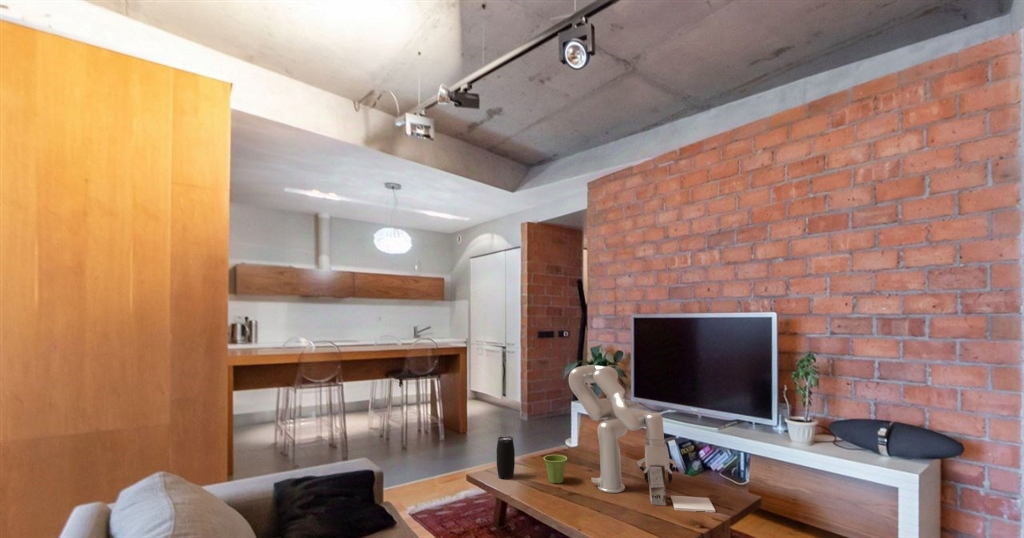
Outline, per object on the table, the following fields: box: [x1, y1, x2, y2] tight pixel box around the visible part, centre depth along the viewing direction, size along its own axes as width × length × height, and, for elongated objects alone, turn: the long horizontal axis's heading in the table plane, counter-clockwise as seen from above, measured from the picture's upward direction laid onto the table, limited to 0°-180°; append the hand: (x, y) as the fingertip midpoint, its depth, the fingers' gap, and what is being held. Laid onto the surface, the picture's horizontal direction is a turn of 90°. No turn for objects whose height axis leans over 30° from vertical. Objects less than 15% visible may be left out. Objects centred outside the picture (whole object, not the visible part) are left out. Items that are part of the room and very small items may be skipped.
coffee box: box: [647, 466, 667, 506], centre depth 202 cm, size 9×6×16 cm
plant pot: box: [543, 454, 568, 484], centre depth 228 cm, size 12×12×11 cm
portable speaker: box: [496, 436, 516, 480], centre depth 235 cm, size 9×9×20 cm
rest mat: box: [670, 495, 716, 513], centre depth 197 cm, size 16×13×1 cm
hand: (658, 482), depth 202 cm, fingers open, 9 cm apart
